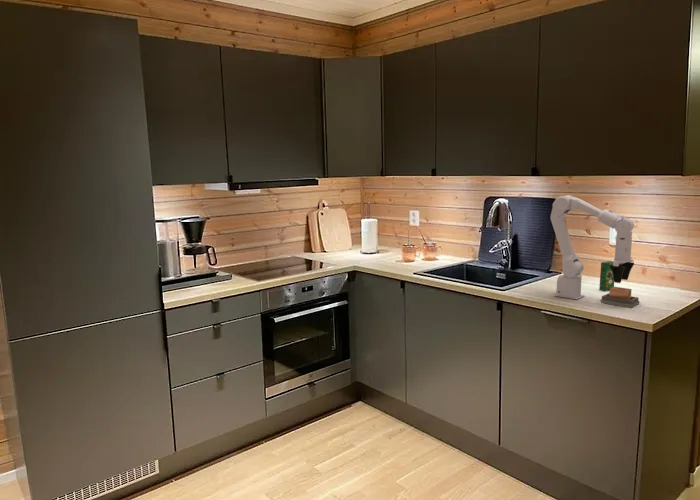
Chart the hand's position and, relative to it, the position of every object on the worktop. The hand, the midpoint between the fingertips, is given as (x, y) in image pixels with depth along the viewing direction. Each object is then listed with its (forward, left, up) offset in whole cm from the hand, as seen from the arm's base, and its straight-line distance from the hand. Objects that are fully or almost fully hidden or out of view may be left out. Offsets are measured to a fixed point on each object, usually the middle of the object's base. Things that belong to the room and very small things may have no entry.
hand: (621, 281), depth 217 cm
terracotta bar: (0, 0, -8) cm, 8 cm away
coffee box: (-13, +21, -10) cm, 26 cm away
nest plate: (0, 0, -9) cm, 9 cm away
